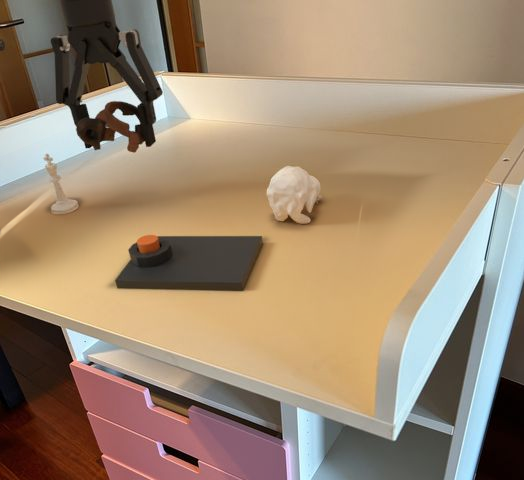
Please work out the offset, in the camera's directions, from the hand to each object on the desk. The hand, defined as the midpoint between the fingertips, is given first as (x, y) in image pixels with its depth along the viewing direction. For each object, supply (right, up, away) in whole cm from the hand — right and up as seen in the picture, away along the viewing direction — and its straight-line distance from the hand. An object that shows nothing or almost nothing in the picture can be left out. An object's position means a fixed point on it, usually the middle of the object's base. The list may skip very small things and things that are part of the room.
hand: (120, 144), depth 96 cm
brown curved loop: (-1, -1, +1) cm, 1 cm away
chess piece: (-12, -9, +7) cm, 17 cm away
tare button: (+8, -21, -16) cm, 27 cm away
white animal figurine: (+30, -13, -5) cm, 33 cm away
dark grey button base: (+14, -23, -15) cm, 31 cm away
